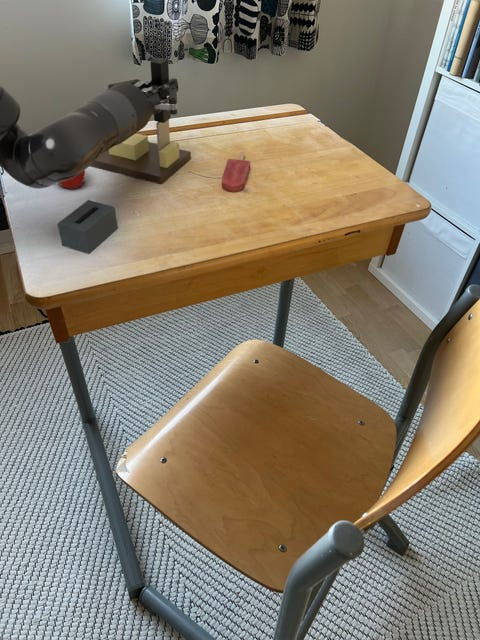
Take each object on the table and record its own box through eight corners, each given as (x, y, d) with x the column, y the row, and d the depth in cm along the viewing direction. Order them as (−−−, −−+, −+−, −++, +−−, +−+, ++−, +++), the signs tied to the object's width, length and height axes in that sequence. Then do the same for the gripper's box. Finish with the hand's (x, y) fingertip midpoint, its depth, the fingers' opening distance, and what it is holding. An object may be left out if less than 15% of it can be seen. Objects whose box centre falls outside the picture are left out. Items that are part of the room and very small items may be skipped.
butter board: (80, 163, 100) (78, 156, 99) (114, 140, 108) (113, 133, 107) (161, 184, 95) (161, 177, 94) (191, 158, 103) (190, 151, 102)
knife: (154, 154, 96) (148, 62, 85) (164, 145, 99) (159, 56, 88) (163, 156, 96) (158, 64, 85) (173, 148, 99) (170, 58, 88)
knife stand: (62, 245, 79) (56, 223, 77) (92, 221, 85) (88, 199, 82) (89, 254, 78) (84, 231, 75) (118, 228, 84) (115, 206, 81)
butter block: (109, 154, 100) (107, 139, 98) (123, 144, 103) (121, 129, 101) (135, 160, 98) (134, 145, 96) (149, 150, 102) (147, 135, 100)
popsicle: (253, 149, 103) (243, 185, 93) (253, 157, 105) (243, 194, 94) (231, 147, 104) (219, 183, 93) (231, 155, 105) (219, 191, 94)
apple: (48, 192, 91) (39, 152, 86) (60, 176, 95) (51, 137, 90) (83, 195, 91) (76, 155, 86) (93, 179, 95) (86, 140, 90)
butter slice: (159, 166, 97) (158, 151, 95) (172, 156, 100) (171, 141, 98) (167, 168, 97) (166, 153, 94) (179, 157, 100) (178, 142, 98)
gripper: (152, 99, 75) (203, 67, 87) (73, 82, 79) (133, 53, 91) (155, 148, 81) (203, 111, 92) (81, 130, 84) (137, 97, 96)
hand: (168, 83), depth 92 cm, fingers closed on knife, 2 cm apart
